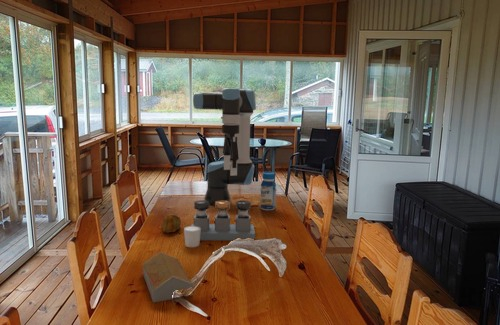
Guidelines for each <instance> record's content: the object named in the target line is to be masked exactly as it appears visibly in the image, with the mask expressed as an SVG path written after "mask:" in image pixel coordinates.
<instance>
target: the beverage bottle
mask: <svg viewBox="0 0 500 325" xmlns="http://www.w3.org/2000/svg"><path fill="white" fill-rule="evenodd" d="M275 178H276V172H274V171H264V172H262V179H263V180H262V182H261V184H260V186H261V187H260V207H259V208H260V209H261V210H263V211H274V210H275V209H276V200H277V199H276V195H277V194H276V193H277V188H276V187H277V183H276V182H275Z"/></svg>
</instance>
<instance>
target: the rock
mask: <svg viewBox="0 0 500 325" xmlns="http://www.w3.org/2000/svg"><path fill="white" fill-rule="evenodd" d="M181 225H182V220H181V218H180V217H179V216H178V215H177V214H176V213H174V214H173V213H172V214H171V213H169V214H167V215H166V216H165V218H163V220H162V224H161V226H162V232H163V233H166V234H168V233H169V234H170V233H175V232H176V231H177V230H178V231H179V229H180V228H181Z"/></svg>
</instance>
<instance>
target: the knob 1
mask: <svg viewBox="0 0 500 325" xmlns="http://www.w3.org/2000/svg"><path fill="white" fill-rule="evenodd" d="M193 204H194V206H193V207H194V210H196V214H197V218H206V214H207V210H208V209H210V204H209V201H205V200H201V199H200V200H196V201H193Z"/></svg>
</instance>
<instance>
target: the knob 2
mask: <svg viewBox="0 0 500 325" xmlns="http://www.w3.org/2000/svg"><path fill="white" fill-rule="evenodd" d="M251 205H252V202H251V201H249V200H237V201H235V208H236V210H238V215H239V218H248V215H249V210H251V207H252V206H251Z"/></svg>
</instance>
